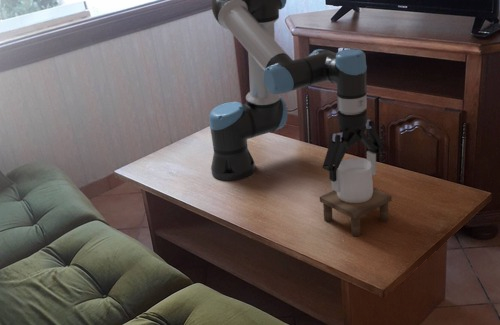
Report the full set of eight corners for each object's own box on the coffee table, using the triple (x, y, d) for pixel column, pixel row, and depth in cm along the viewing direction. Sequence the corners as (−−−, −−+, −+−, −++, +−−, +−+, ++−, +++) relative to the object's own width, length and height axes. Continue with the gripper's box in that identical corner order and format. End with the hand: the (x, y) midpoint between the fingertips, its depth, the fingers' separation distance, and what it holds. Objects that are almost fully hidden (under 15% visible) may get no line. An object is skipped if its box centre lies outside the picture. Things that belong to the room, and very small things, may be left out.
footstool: (320, 219, 171) (319, 196, 168) (355, 202, 178) (355, 180, 175) (356, 238, 160) (355, 214, 157) (391, 219, 167) (391, 195, 164)
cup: (380, 198, 163) (379, 166, 159) (348, 208, 160) (347, 176, 156) (361, 184, 172) (360, 154, 167) (330, 194, 168) (329, 163, 164)
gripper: (326, 127, 146) (330, 202, 155) (395, 99, 158) (395, 170, 168) (306, 120, 152) (311, 193, 161) (375, 93, 164) (375, 162, 173)
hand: (354, 181), depth 164 cm, fingers open, 13 cm apart
